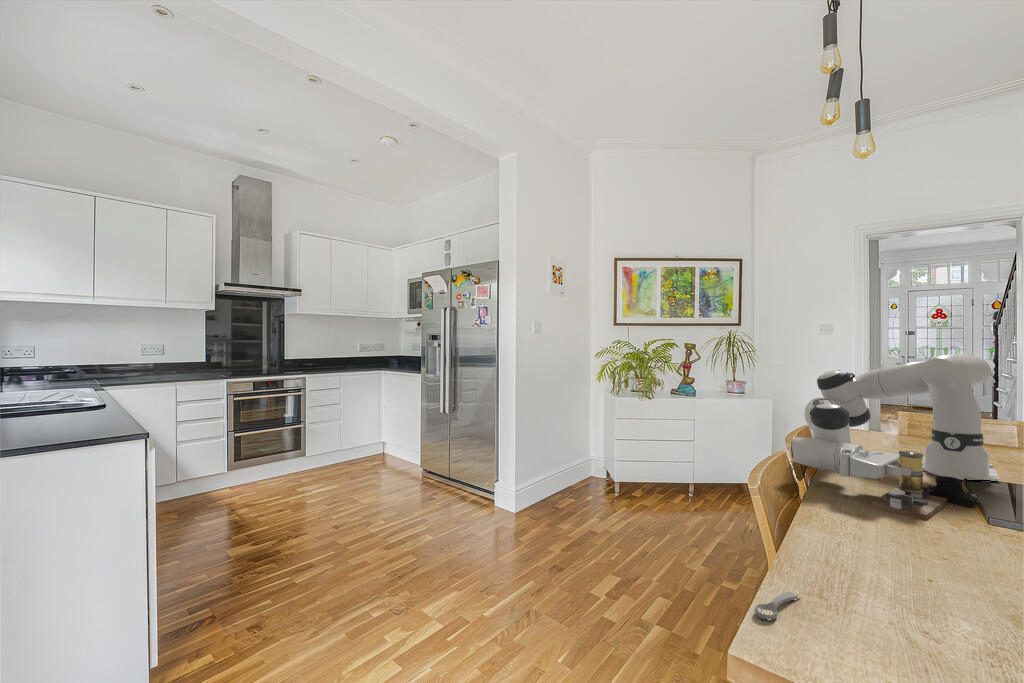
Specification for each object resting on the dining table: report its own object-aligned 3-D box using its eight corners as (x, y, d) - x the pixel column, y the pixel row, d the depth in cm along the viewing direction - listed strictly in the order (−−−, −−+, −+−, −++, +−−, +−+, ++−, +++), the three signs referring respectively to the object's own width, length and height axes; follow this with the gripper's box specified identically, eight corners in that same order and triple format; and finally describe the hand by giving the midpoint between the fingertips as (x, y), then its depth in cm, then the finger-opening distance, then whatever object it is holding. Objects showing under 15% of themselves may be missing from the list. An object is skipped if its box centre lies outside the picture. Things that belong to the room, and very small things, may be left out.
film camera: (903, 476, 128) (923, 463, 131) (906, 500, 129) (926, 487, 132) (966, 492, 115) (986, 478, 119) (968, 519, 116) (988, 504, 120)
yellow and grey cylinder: (902, 486, 123) (901, 449, 123) (925, 491, 119) (925, 453, 119) (896, 490, 120) (896, 452, 120) (920, 495, 116) (919, 456, 116)
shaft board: (895, 492, 130) (894, 478, 130) (947, 502, 121) (947, 488, 121) (870, 506, 118) (870, 491, 119) (926, 520, 110) (926, 503, 110)
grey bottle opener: (749, 616, 72) (750, 604, 72) (785, 597, 79) (785, 586, 79) (769, 626, 69) (770, 613, 69) (804, 606, 76) (804, 594, 76)
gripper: (865, 464, 136) (926, 475, 125) (838, 476, 124) (903, 489, 113) (865, 443, 136) (926, 452, 125) (838, 453, 124) (903, 464, 113)
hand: (915, 470), depth 119 cm, fingers closed on yellow and grey cylinder, 5 cm apart
